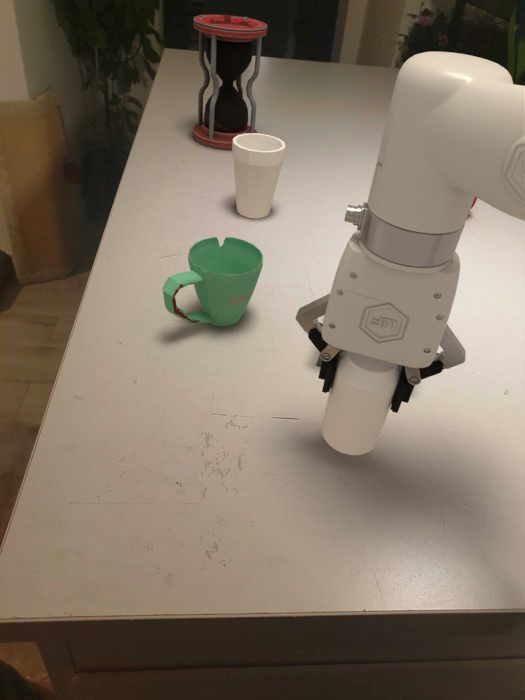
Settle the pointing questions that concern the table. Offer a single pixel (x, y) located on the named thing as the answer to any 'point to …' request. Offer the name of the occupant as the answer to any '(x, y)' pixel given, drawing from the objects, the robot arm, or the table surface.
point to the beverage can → (358, 402)
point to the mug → (217, 280)
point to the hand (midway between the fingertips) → (361, 392)
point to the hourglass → (226, 77)
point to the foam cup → (256, 172)
